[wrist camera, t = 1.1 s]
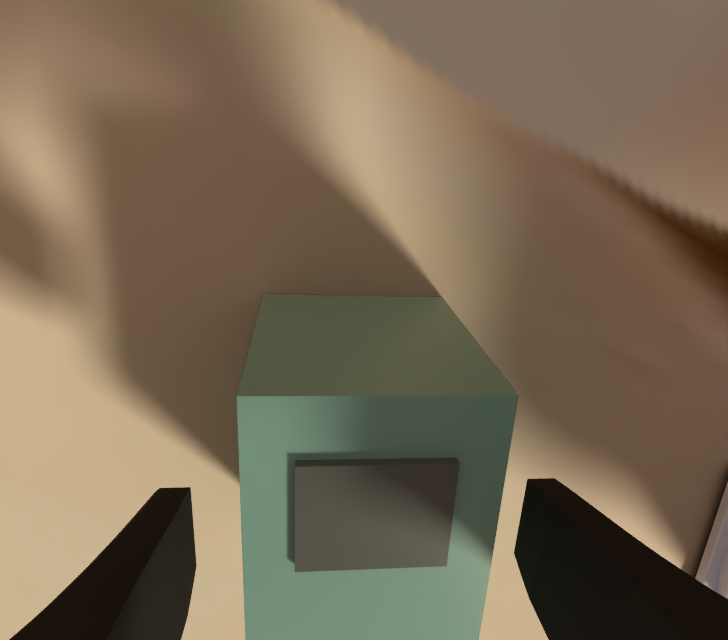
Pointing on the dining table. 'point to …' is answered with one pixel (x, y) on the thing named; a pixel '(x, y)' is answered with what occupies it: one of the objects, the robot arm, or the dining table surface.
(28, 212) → the dining table surface
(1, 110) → the dining table surface
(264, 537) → the block
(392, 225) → the dining table surface
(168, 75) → the dining table surface
